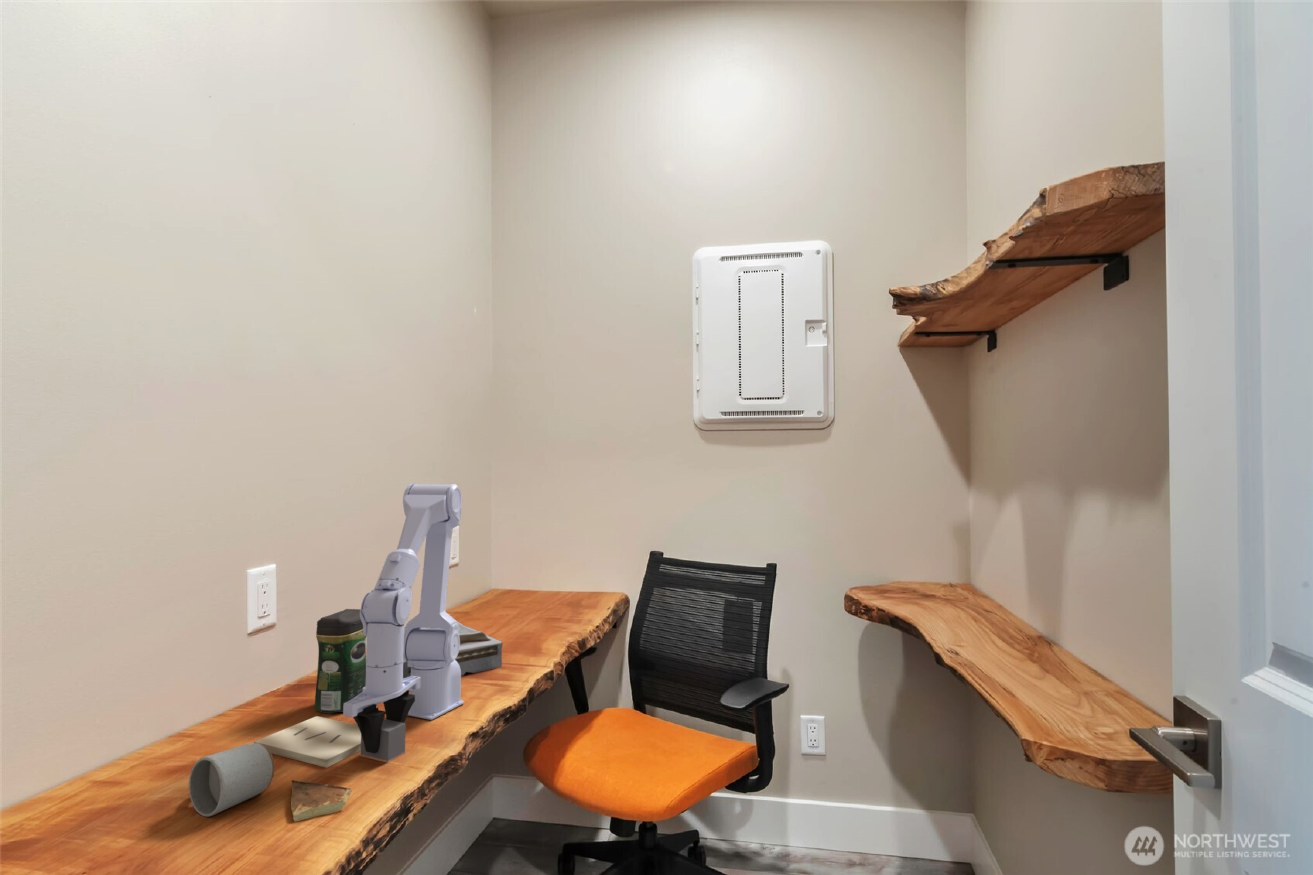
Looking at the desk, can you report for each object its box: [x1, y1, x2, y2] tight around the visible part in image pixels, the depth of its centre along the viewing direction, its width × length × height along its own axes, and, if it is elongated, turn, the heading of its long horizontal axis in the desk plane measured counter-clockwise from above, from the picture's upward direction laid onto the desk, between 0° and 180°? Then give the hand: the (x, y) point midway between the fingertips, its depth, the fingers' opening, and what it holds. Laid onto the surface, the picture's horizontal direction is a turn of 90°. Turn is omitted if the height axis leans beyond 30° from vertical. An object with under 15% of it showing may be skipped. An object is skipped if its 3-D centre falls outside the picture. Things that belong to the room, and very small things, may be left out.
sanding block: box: [360, 718, 406, 764], centre depth 106 cm, size 4×6×5 cm, turn 67°
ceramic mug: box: [188, 742, 275, 818], centre depth 92 cm, size 11×8×8 cm
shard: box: [290, 780, 353, 823], centre depth 92 cm, size 11×8×2 cm
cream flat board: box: [253, 715, 361, 768], centre depth 110 cm, size 12×17×1 cm
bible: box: [403, 621, 503, 678], centre depth 152 cm, size 23×27×10 cm
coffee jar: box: [314, 608, 367, 714], centre depth 128 cm, size 10×8×19 cm
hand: (383, 745), depth 106 cm, fingers open, 4 cm apart
